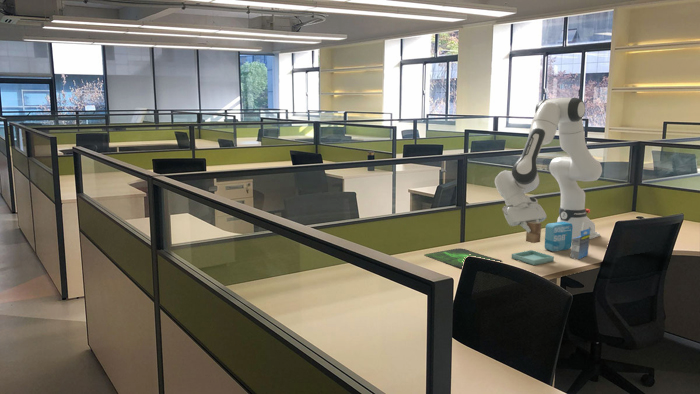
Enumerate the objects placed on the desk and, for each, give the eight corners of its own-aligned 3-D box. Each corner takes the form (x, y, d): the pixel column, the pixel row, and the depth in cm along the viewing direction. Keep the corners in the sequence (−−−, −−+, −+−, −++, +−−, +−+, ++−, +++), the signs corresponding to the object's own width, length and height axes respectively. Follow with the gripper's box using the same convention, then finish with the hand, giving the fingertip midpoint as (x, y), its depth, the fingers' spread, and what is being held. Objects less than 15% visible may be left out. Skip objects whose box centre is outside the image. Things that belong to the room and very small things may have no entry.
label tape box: (579, 253, 249) (581, 226, 246) (588, 255, 246) (590, 228, 243) (569, 257, 243) (571, 229, 240) (579, 259, 240) (581, 231, 238)
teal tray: (531, 254, 248) (531, 250, 247) (553, 261, 237) (553, 256, 237) (511, 258, 242) (511, 253, 241) (533, 265, 231) (533, 260, 231)
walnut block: (532, 239, 241) (533, 221, 239) (540, 241, 237) (541, 223, 236) (526, 241, 239) (527, 222, 237) (533, 243, 235) (534, 224, 234)
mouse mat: (421, 255, 248) (421, 253, 248) (459, 248, 259) (459, 246, 259) (464, 271, 225) (464, 269, 225) (504, 263, 236) (504, 260, 236)
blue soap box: (551, 252, 252) (553, 225, 249) (544, 249, 256) (545, 223, 253) (571, 249, 257) (573, 223, 255) (563, 246, 261) (565, 221, 259)
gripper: (504, 202, 236) (521, 229, 229) (539, 198, 246) (556, 224, 240) (496, 210, 240) (512, 238, 234) (530, 206, 251) (546, 232, 244)
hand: (534, 231), depth 237 cm, fingers closed on walnut block, 4 cm apart
